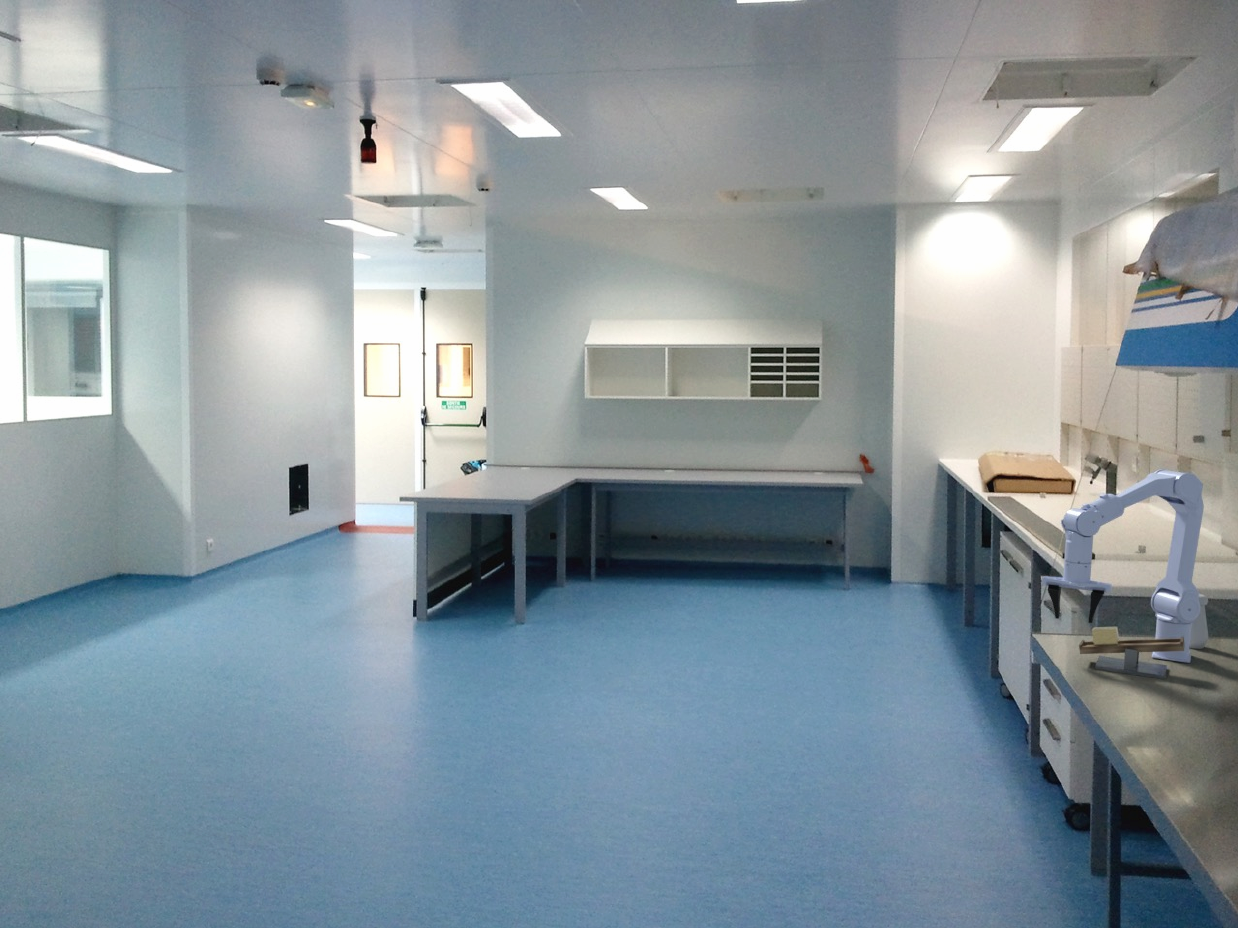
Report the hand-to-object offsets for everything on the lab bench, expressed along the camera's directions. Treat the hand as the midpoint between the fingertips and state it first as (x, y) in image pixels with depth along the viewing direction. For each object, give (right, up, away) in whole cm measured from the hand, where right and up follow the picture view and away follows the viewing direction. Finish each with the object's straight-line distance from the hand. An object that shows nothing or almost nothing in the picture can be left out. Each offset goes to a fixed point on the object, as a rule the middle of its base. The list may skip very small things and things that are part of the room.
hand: (1073, 619), depth 247 cm
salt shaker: (+37, -9, +17) cm, 41 cm away
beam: (+11, -6, -6) cm, 14 cm away
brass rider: (+6, -6, -3) cm, 9 cm away
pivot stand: (+11, -10, -5) cm, 16 cm away
